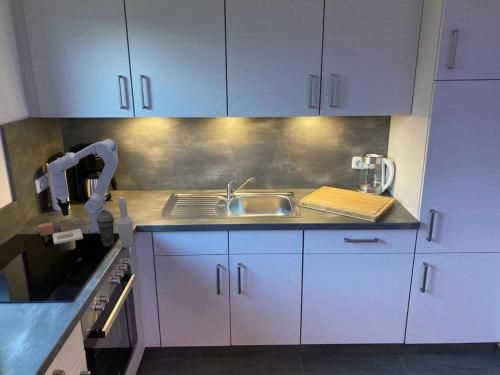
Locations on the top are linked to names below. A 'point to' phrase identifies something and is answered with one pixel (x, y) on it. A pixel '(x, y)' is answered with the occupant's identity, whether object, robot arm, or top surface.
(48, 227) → the rust brick
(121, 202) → the faceted bottle
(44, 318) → the top surface
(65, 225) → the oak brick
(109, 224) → the beverage cup
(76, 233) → the baseplate
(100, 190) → the robot arm
